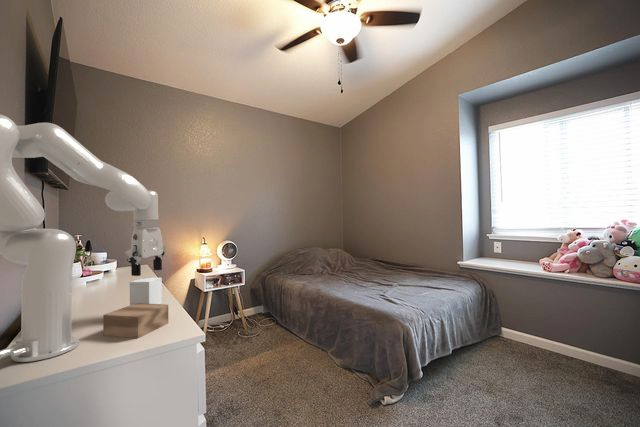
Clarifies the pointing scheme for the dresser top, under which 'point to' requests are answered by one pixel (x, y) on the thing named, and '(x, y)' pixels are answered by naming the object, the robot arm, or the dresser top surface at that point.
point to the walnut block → (135, 320)
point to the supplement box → (146, 291)
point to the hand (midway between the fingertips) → (147, 272)
